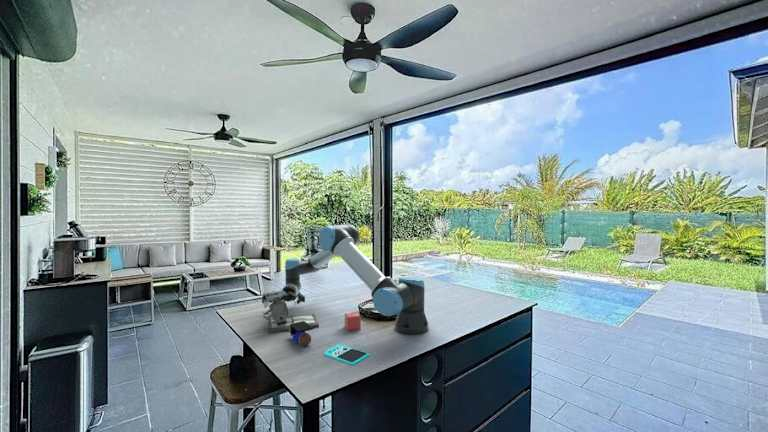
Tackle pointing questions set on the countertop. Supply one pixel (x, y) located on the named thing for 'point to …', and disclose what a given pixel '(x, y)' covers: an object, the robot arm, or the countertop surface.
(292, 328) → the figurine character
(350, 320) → the red die
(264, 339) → the countertop surface
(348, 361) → the handheld game console
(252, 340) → the countertop surface
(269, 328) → the divided rectangular tray
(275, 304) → the figurine
